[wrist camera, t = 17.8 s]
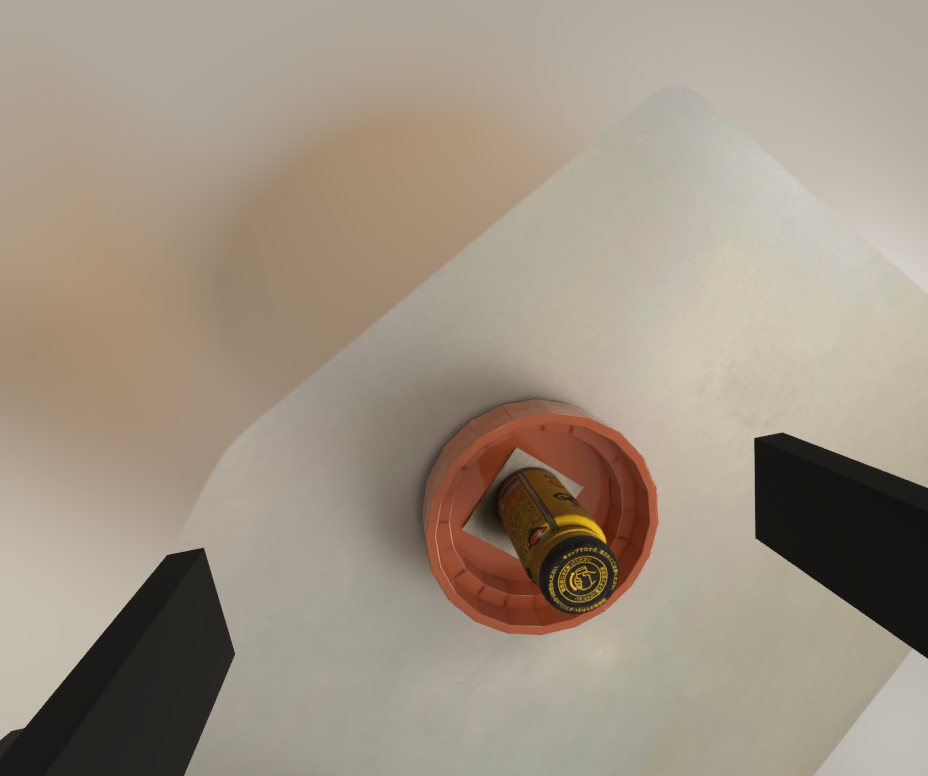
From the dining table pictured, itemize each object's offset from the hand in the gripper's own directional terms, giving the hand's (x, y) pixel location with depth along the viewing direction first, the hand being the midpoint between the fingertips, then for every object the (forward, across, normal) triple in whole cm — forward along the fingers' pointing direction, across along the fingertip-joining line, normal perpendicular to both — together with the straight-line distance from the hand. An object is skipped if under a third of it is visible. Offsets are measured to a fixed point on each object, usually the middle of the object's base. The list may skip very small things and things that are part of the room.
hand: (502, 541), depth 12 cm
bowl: (+29, +7, -14) cm, 33 cm away
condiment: (+28, +6, -14) cm, 32 cm away
